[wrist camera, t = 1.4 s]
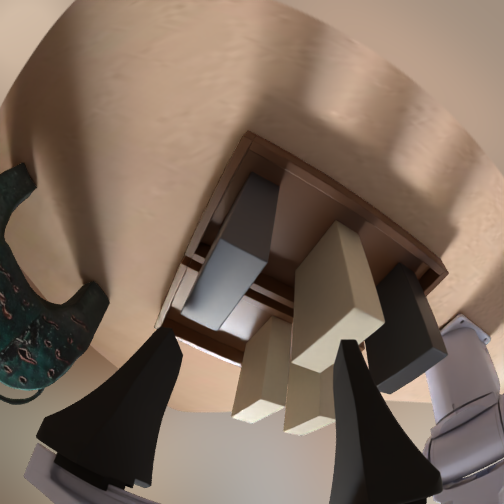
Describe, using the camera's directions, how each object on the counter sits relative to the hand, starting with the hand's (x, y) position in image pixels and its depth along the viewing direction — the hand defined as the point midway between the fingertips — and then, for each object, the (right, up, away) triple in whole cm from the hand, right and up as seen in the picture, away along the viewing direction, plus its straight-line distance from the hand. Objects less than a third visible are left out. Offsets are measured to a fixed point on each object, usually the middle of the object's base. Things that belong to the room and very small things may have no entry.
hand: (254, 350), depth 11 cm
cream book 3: (+5, +4, +8) cm, 10 cm away
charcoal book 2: (+10, +1, +9) cm, 14 cm away
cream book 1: (+1, -3, +13) cm, 14 cm away
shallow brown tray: (0, -3, +13) cm, 14 cm away
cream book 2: (+6, -6, +14) cm, 16 cm away
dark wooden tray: (+5, +4, +8) cm, 10 cm away
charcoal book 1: (0, +7, +7) cm, 10 cm away
